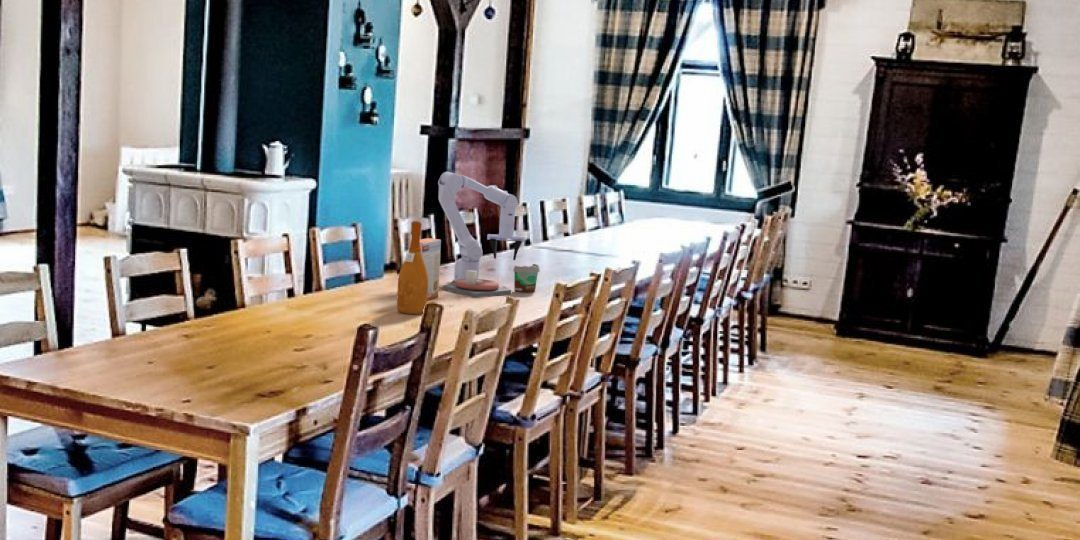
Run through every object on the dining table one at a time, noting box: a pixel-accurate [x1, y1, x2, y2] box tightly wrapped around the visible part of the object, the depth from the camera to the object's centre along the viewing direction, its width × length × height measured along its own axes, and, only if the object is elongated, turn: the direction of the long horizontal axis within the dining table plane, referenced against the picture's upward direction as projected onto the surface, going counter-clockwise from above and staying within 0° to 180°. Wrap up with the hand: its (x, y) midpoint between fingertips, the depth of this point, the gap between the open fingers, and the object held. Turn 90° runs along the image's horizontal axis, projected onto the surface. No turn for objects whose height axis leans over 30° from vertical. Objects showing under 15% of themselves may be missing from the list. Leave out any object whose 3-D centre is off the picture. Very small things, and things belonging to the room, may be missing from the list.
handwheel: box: [455, 270, 500, 290], centre depth 405 cm, size 16×16×6 cm
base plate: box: [442, 283, 512, 299], centre depth 406 cm, size 18×18×2 cm
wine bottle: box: [396, 220, 428, 315], centre depth 356 cm, size 10×10×30 cm
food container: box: [513, 263, 541, 294], centre depth 413 cm, size 12×6×10 cm, turn 143°
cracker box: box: [408, 237, 442, 301], centre depth 381 cm, size 14×6×21 cm, turn 158°
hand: (504, 259), depth 429 cm, fingers open, 7 cm apart
